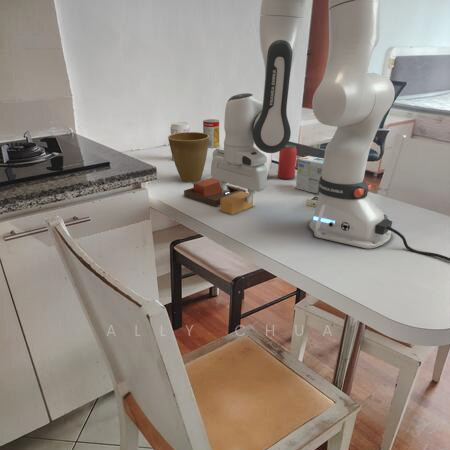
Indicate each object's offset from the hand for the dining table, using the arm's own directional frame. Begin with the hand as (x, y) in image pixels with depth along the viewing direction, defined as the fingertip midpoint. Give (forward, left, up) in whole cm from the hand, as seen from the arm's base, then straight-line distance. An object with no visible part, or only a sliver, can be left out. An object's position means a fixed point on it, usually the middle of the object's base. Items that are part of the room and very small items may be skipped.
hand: (236, 198), depth 131 cm
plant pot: (+33, -11, -3) cm, 35 cm away
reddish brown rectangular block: (+15, -3, -3) cm, 16 cm away
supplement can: (+59, -30, -3) cm, 66 cm away
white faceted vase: (+17, -30, -3) cm, 34 cm away
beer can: (+8, -39, -3) cm, 40 cm away
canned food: (+68, -58, -3) cm, 89 cm away
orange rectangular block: (-1, +1, -3) cm, 3 cm away
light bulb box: (-8, -33, -3) cm, 34 cm away
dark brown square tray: (+13, -3, -3) cm, 13 cm away
